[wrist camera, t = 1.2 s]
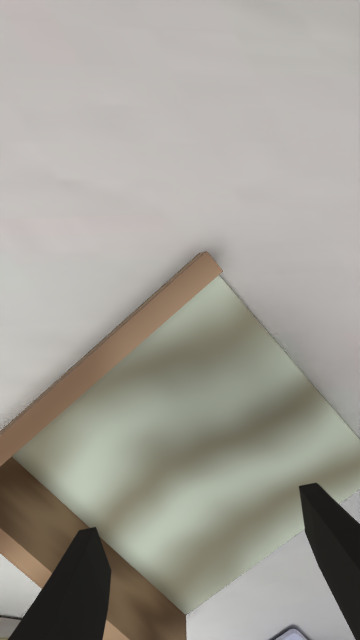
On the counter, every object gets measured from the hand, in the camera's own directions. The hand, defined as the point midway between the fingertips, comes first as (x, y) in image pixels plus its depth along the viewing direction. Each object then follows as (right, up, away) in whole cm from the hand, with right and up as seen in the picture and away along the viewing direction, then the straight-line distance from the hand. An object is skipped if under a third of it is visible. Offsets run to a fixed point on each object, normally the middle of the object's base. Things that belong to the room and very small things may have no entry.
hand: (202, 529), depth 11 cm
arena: (0, -2, +11) cm, 11 cm away
